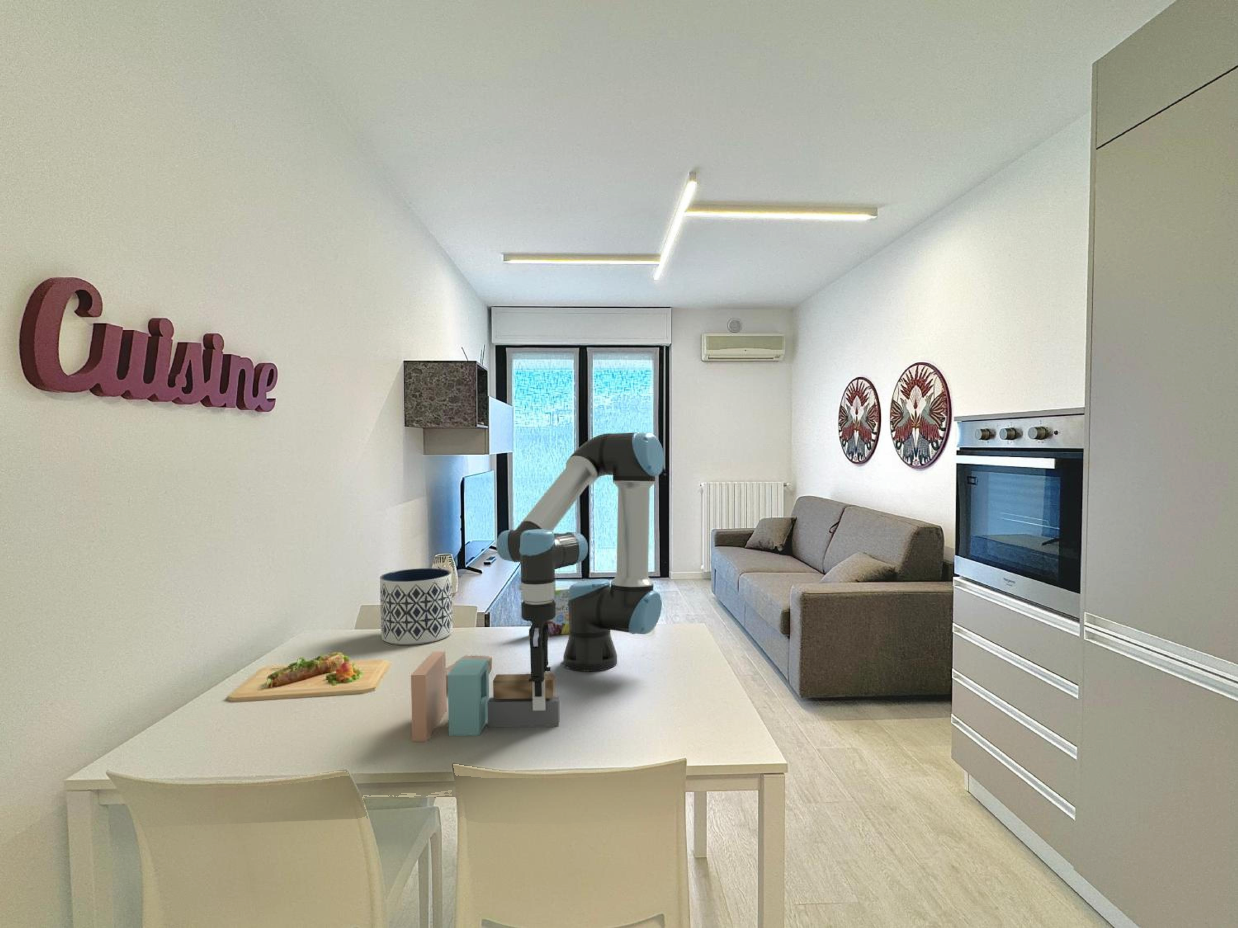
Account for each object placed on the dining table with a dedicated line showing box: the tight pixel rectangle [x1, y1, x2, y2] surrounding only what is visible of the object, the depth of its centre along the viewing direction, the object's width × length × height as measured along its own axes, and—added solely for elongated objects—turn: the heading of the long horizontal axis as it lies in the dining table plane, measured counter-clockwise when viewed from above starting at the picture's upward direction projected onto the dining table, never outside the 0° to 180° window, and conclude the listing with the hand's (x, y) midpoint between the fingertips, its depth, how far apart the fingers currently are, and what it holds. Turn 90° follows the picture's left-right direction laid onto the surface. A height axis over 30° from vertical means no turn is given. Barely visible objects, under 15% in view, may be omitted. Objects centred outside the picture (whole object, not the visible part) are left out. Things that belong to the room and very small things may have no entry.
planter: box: [379, 567, 454, 646], centre depth 219 cm, size 22×22×20 cm
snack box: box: [530, 584, 572, 637], centre depth 221 cm, size 21×6×15 cm, turn 117°
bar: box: [492, 673, 556, 699], centre depth 148 cm, size 13×4×4 cm, turn 90°
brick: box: [446, 654, 493, 693], centre depth 177 cm, size 17×8×5 cm, turn 164°
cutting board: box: [227, 651, 392, 703], centre depth 178 cm, size 35×23×8 cm
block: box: [447, 658, 490, 737], centre depth 148 cm, size 6×11×13 cm, turn 0°
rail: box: [487, 695, 561, 728], centre depth 148 cm, size 16×3×6 cm, turn 90°
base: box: [410, 650, 448, 742], centre depth 148 cm, size 3×16×14 cm, turn 0°
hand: (540, 705), depth 148 cm, fingers closed on bar, 4 cm apart
